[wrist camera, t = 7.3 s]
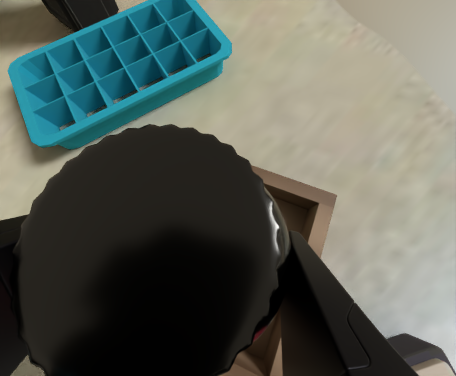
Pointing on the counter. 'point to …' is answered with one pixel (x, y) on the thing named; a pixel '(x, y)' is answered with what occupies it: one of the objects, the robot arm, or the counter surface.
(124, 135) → the supplement bottle
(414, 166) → the counter surface
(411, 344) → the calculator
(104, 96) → the ice cube tray
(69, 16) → the portable radio
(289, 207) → the holder
